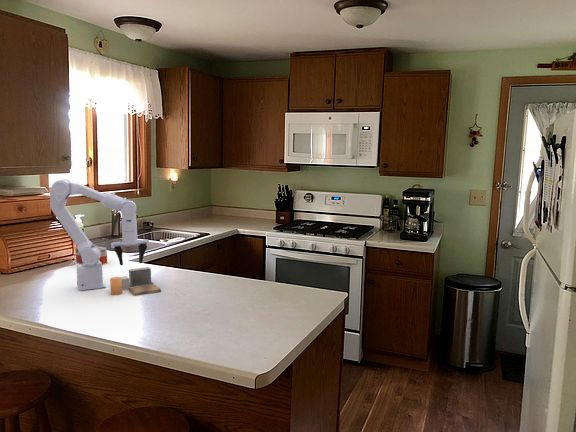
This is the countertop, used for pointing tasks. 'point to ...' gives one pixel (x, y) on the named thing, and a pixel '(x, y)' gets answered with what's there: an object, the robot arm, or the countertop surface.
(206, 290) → the countertop surface
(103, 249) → the medicine box
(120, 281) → the cylinder
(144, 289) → the mat
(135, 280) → the housing
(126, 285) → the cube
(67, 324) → the countertop surface
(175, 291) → the countertop surface
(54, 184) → the robot arm
